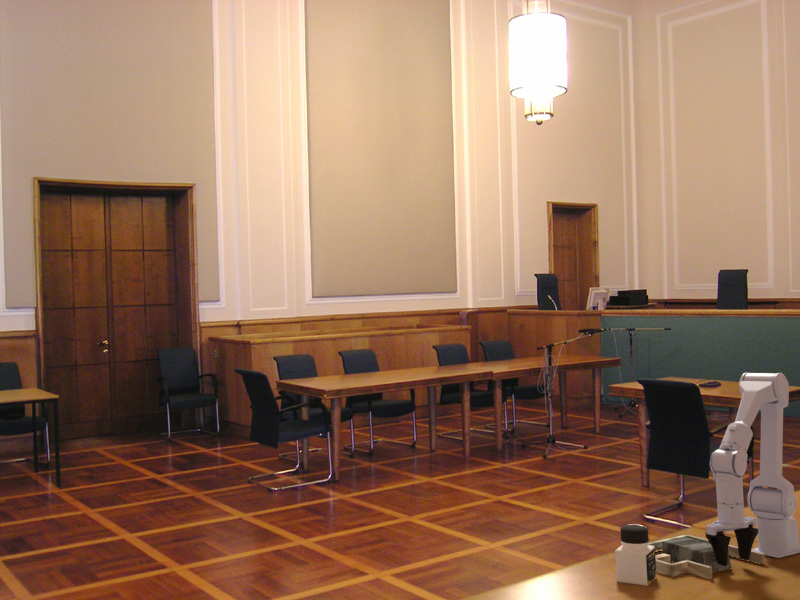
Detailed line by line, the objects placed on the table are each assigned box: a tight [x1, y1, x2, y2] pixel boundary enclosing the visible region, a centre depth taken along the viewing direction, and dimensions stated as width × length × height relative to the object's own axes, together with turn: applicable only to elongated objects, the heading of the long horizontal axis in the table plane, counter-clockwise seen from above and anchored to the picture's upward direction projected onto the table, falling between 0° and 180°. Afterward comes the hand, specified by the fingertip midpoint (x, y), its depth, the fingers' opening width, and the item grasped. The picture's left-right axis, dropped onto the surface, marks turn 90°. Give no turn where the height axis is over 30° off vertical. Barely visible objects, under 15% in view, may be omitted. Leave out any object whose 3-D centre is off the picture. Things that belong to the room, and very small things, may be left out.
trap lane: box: [649, 534, 766, 580], centre depth 196 cm, size 24×23×2 cm
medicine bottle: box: [614, 523, 657, 587], centre depth 184 cm, size 7×7×12 cm
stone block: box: [662, 538, 732, 573], centre depth 195 cm, size 9×14×5 cm, turn 22°
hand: (733, 562), depth 188 cm, fingers open, 7 cm apart
